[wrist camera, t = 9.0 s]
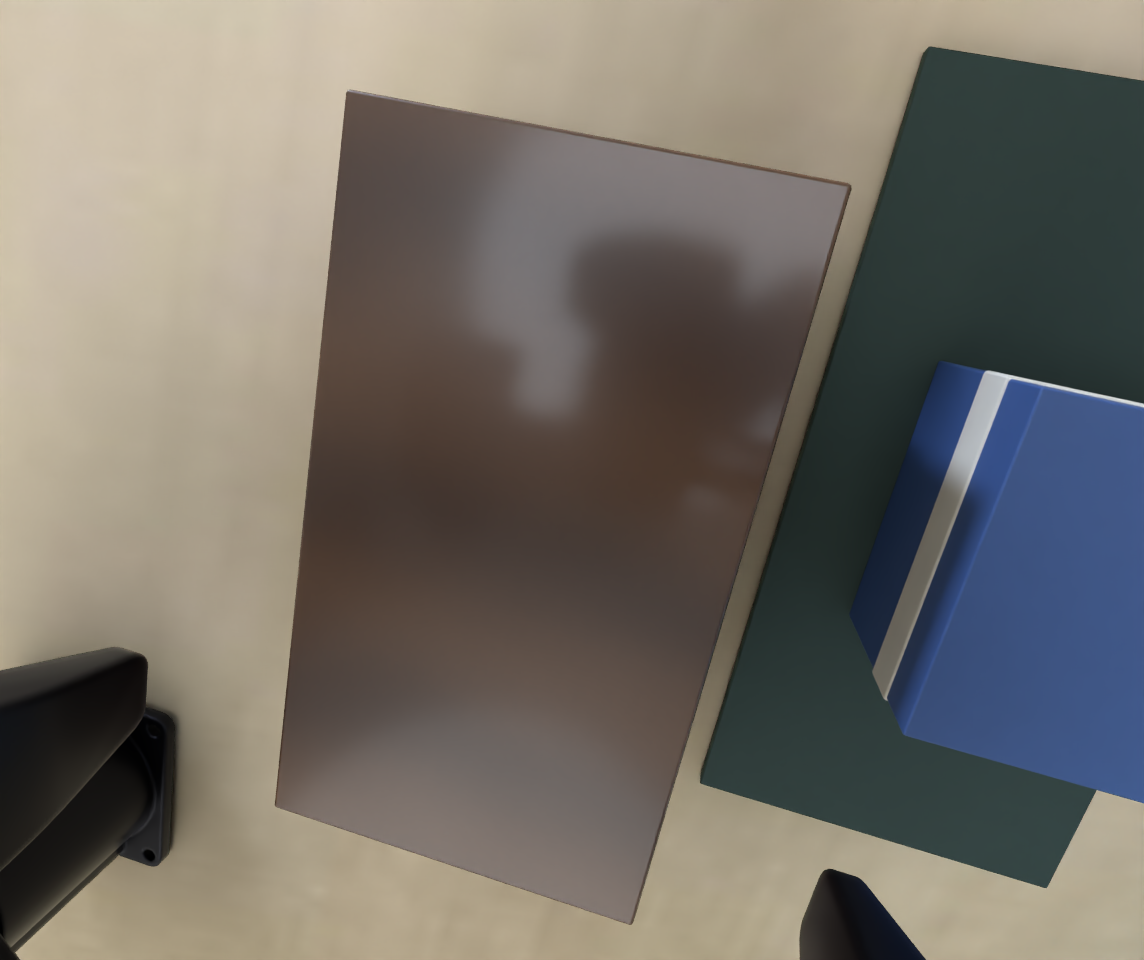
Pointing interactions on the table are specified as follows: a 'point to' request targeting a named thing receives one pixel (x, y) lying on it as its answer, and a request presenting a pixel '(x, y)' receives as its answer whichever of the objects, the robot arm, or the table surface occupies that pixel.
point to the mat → (888, 419)
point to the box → (1016, 579)
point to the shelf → (533, 482)
